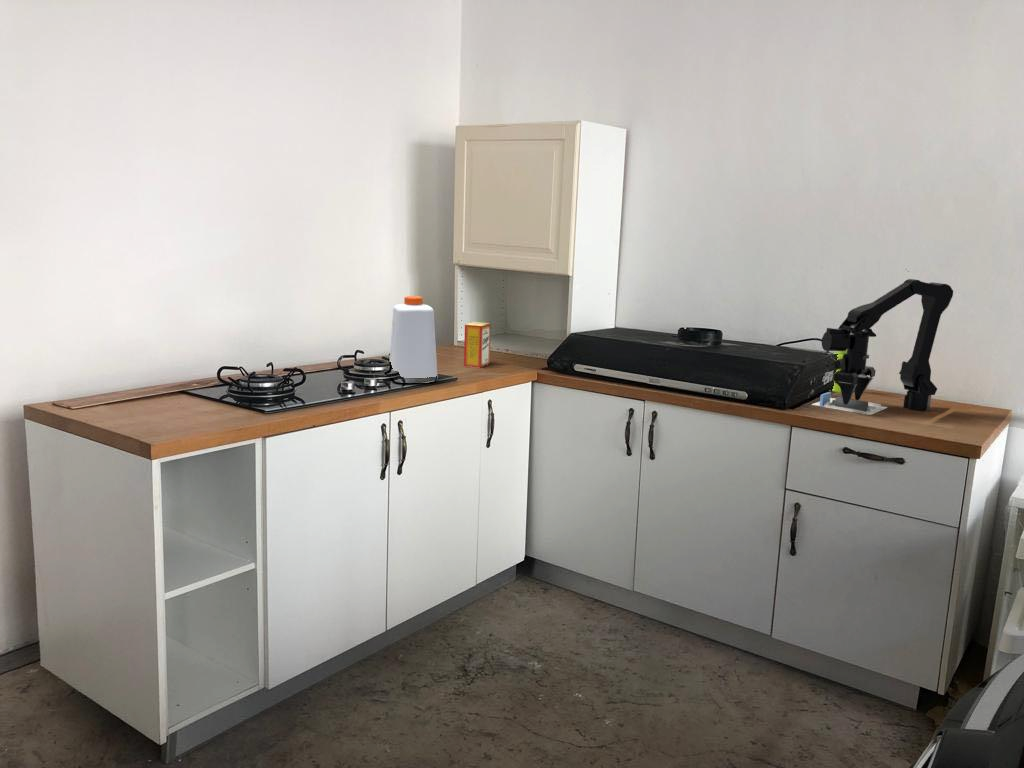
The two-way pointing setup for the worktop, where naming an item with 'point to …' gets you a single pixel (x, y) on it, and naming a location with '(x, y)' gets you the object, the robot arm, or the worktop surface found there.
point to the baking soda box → (477, 344)
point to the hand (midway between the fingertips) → (851, 402)
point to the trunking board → (830, 403)
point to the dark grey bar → (852, 404)
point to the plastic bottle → (413, 339)
